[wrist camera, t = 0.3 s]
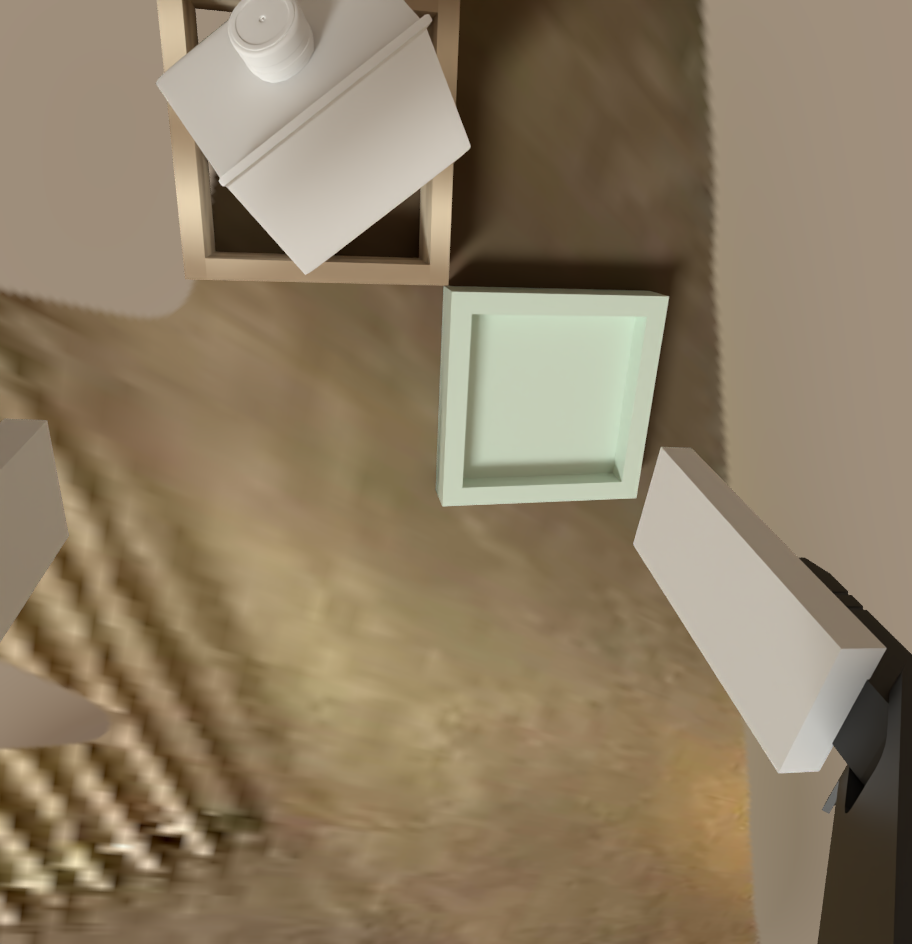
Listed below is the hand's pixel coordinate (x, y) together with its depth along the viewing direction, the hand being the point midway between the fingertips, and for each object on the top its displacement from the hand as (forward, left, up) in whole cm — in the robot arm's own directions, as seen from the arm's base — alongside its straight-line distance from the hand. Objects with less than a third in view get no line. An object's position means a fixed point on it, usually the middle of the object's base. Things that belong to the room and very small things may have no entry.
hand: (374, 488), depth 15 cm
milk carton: (-8, -1, -26) cm, 27 cm away
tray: (+5, +13, -26) cm, 29 cm away
